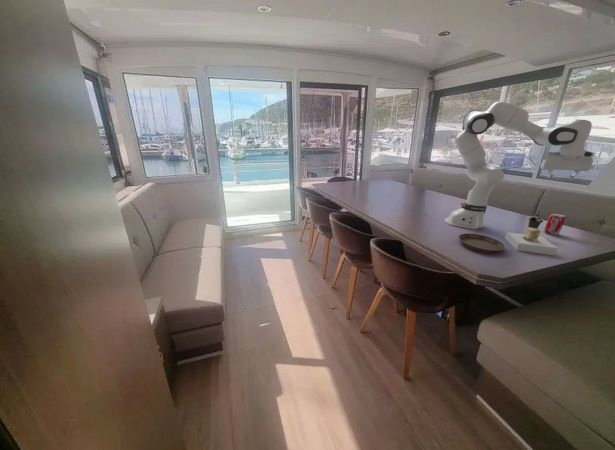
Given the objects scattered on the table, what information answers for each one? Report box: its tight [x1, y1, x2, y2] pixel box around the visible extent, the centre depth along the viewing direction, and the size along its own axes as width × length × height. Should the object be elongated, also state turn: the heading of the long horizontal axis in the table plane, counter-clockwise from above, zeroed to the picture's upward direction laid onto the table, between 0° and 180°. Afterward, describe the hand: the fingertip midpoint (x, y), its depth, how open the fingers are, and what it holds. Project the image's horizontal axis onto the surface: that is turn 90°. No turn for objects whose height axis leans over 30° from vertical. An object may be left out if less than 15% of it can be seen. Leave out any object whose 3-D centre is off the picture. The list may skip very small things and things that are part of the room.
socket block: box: [504, 231, 559, 256], centre depth 131 cm, size 16×16×4 cm
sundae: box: [527, 211, 544, 229], centre depth 143 cm, size 7×7×15 cm
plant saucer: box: [458, 233, 505, 254], centre depth 131 cm, size 21×21×3 cm
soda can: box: [543, 213, 566, 236], centre depth 148 cm, size 7×7×12 cm
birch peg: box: [524, 227, 541, 242], centre depth 130 cm, size 4×4×10 cm
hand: (560, 178), depth 136 cm, fingers open, 8 cm apart
